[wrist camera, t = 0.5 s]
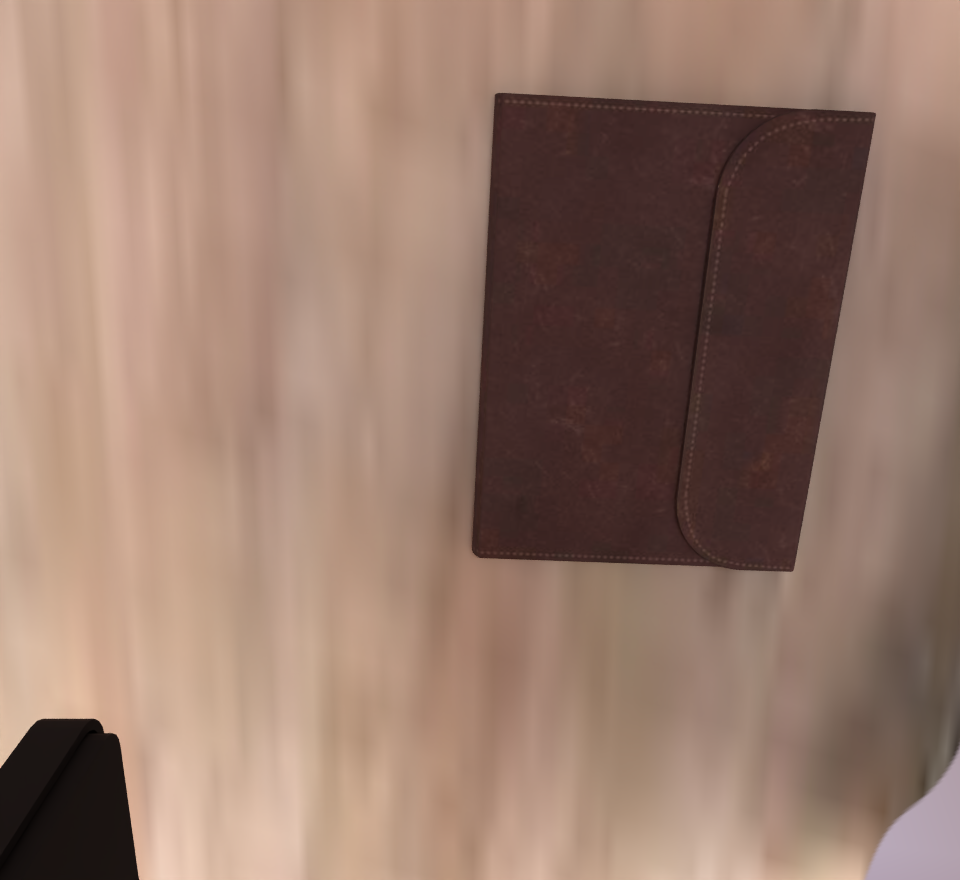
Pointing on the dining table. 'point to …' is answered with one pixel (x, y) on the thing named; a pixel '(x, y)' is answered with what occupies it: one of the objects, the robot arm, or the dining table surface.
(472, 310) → the dining table surface
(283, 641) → the dining table surface
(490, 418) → the notebook
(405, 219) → the dining table surface
